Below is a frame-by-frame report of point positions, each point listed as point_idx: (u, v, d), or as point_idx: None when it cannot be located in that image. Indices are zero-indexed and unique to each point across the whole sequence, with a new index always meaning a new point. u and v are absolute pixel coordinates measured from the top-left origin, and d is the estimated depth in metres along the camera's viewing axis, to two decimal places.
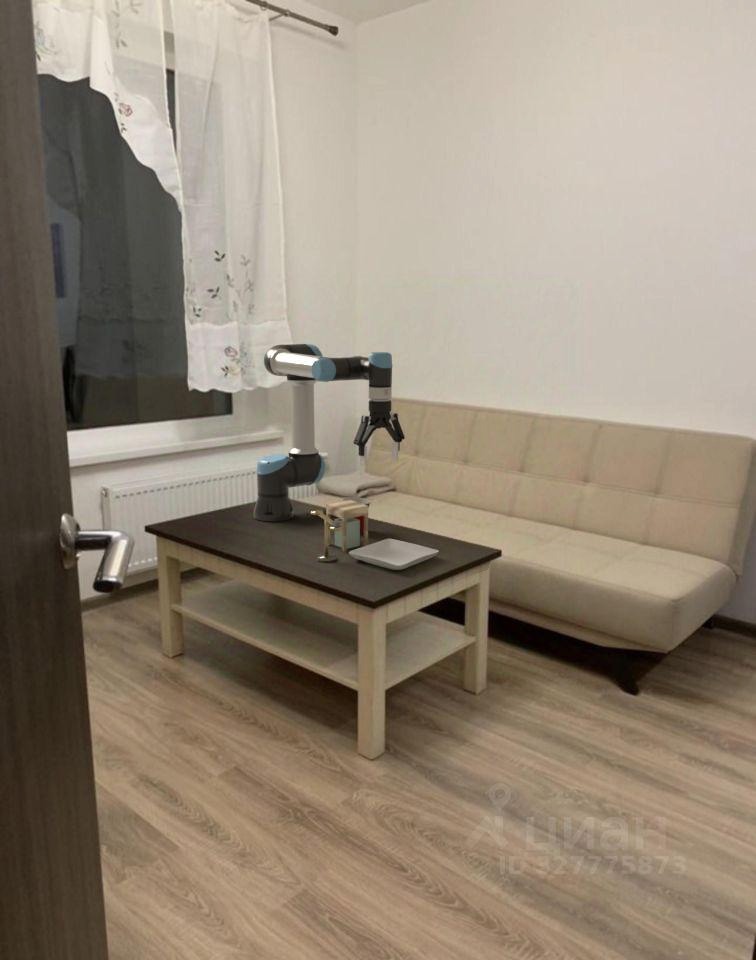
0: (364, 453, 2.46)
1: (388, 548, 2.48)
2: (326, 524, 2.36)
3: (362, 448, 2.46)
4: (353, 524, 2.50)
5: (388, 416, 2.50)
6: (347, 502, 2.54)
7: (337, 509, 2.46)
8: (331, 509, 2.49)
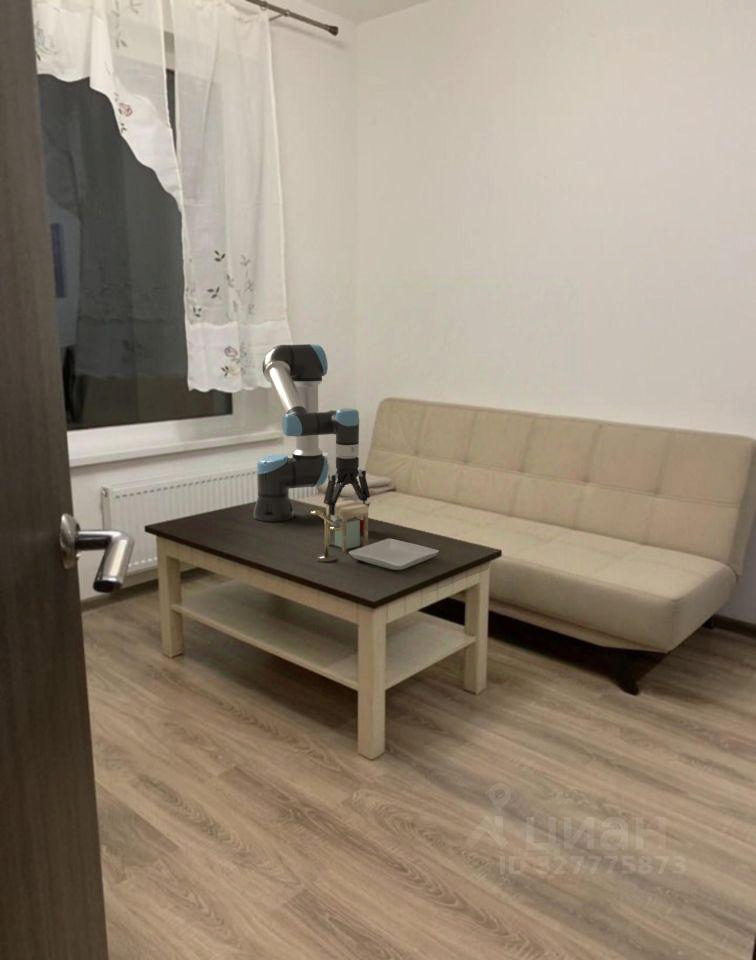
0: (334, 512, 2.46)
1: (388, 548, 2.48)
2: (326, 524, 2.36)
3: (332, 507, 2.46)
4: (353, 524, 2.50)
5: (356, 472, 2.49)
6: (347, 502, 2.54)
7: (337, 509, 2.46)
8: None
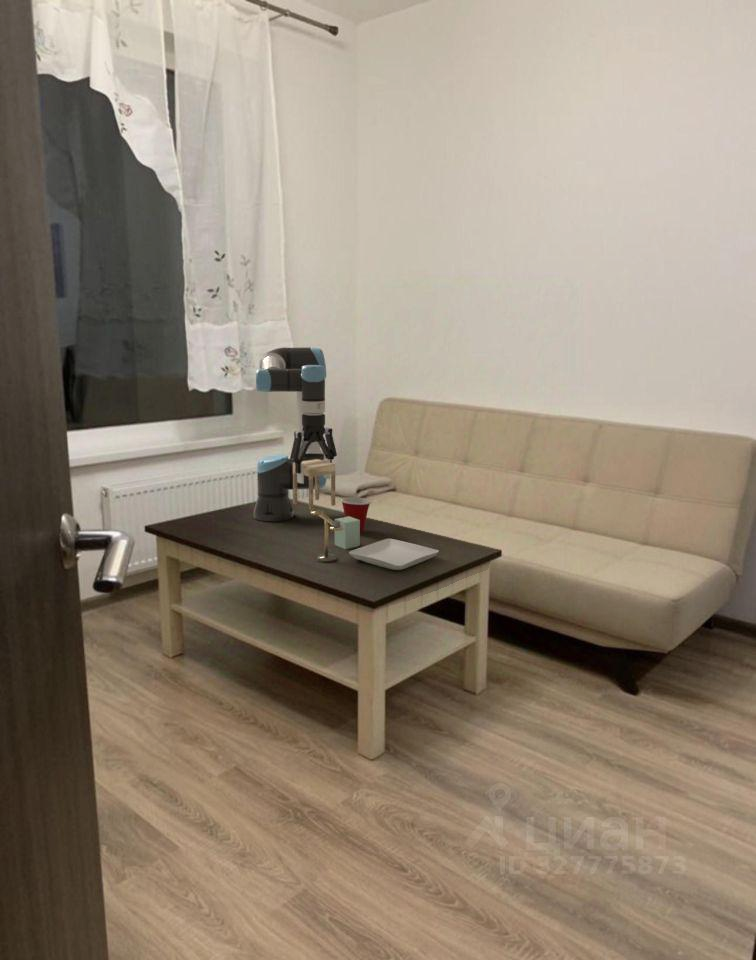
0: (301, 470, 2.43)
1: (388, 548, 2.48)
2: (326, 524, 2.36)
3: (299, 465, 2.43)
4: (353, 524, 2.50)
5: (322, 430, 2.46)
6: (314, 461, 2.50)
7: (304, 467, 2.43)
8: None
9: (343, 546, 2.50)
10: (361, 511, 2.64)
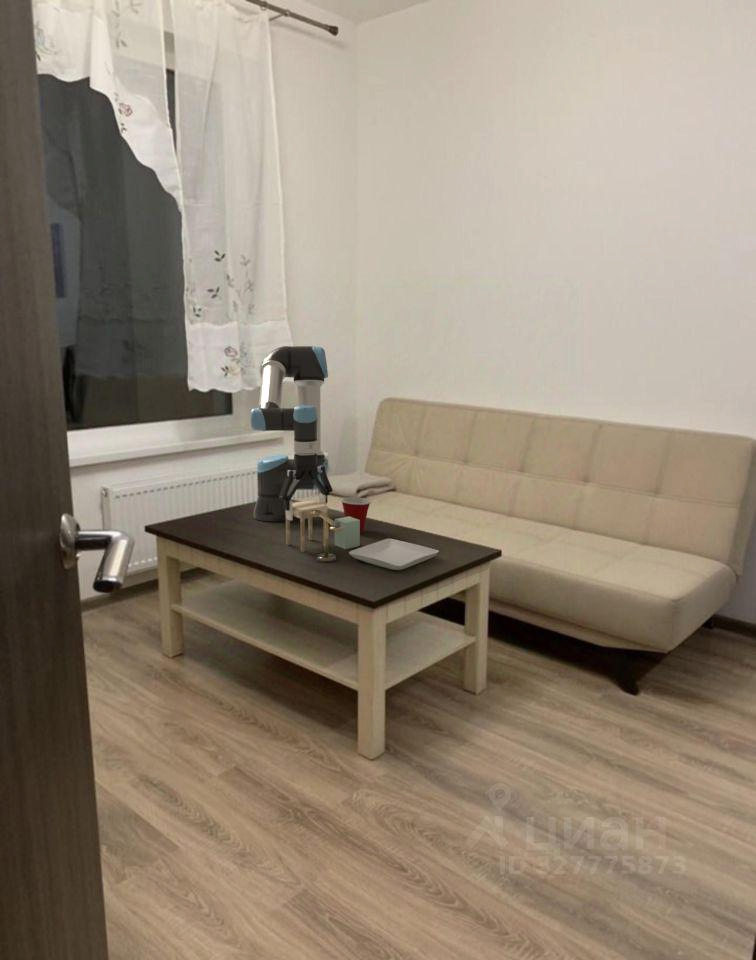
0: (289, 507, 2.45)
1: (388, 548, 2.48)
2: (326, 524, 2.36)
3: (287, 503, 2.44)
4: (353, 524, 2.50)
5: (314, 469, 2.48)
6: (307, 502, 2.53)
7: (295, 509, 2.46)
8: None
9: (343, 546, 2.50)
10: (361, 511, 2.64)
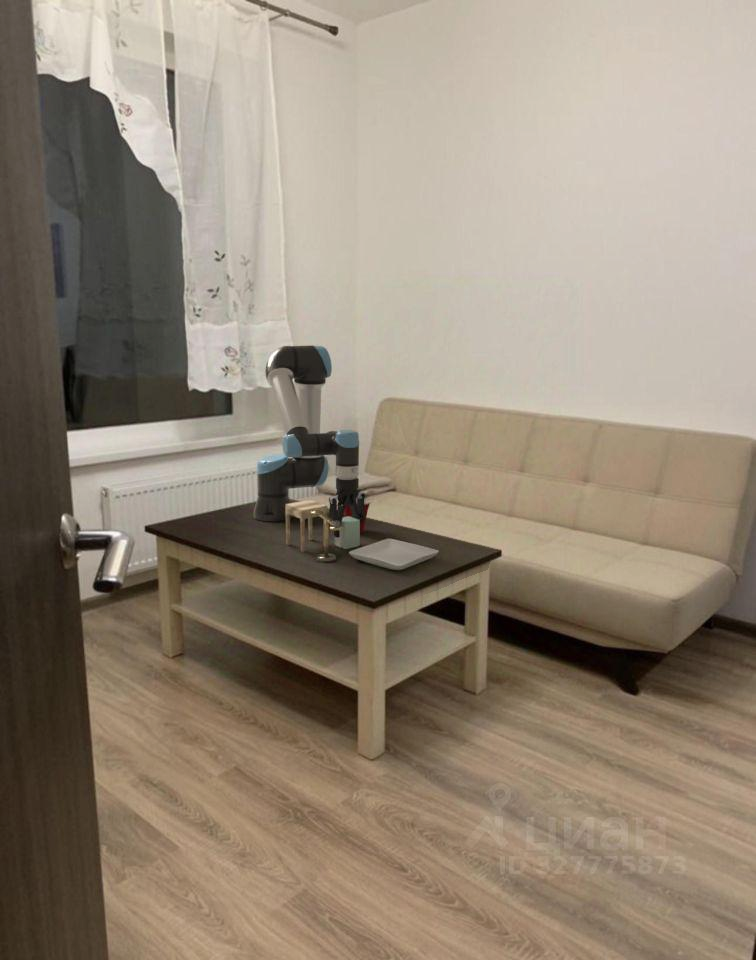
0: (339, 535, 2.49)
1: (388, 548, 2.48)
2: (326, 524, 2.36)
3: None
4: (353, 524, 2.50)
5: (356, 493, 2.51)
6: (307, 502, 2.53)
7: (295, 509, 2.46)
8: (289, 509, 2.49)
9: (343, 546, 2.50)
10: None
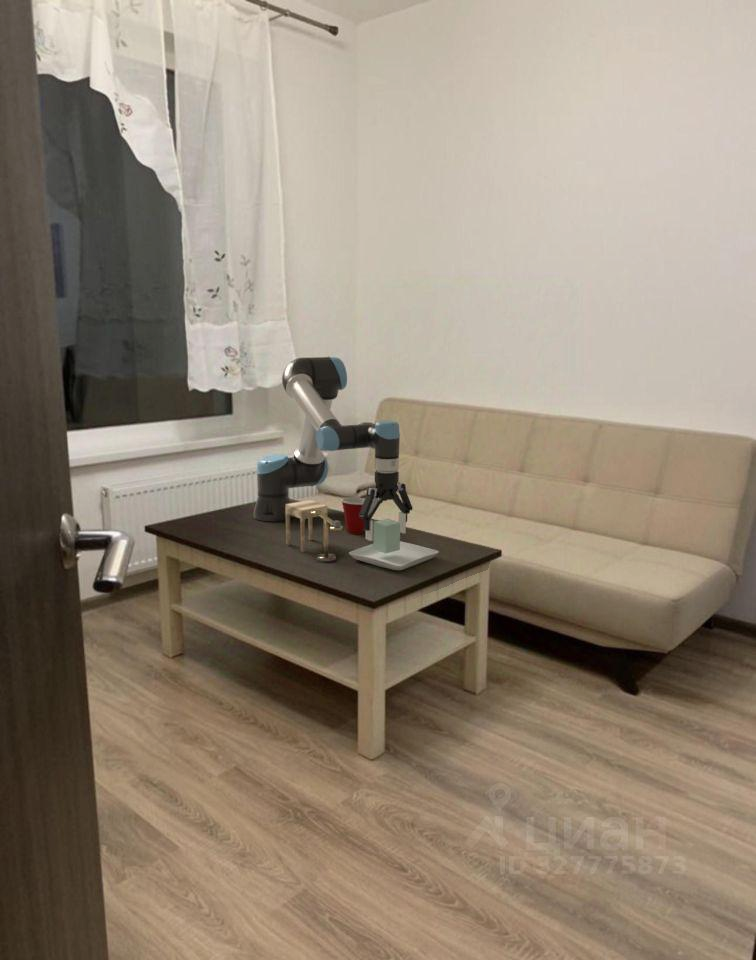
0: (370, 527, 2.33)
1: None
2: (326, 524, 2.36)
3: (368, 522, 2.33)
4: (393, 527, 2.36)
5: (395, 487, 2.37)
6: (307, 502, 2.53)
7: (295, 509, 2.46)
8: (289, 509, 2.49)
9: (383, 550, 2.37)
10: None
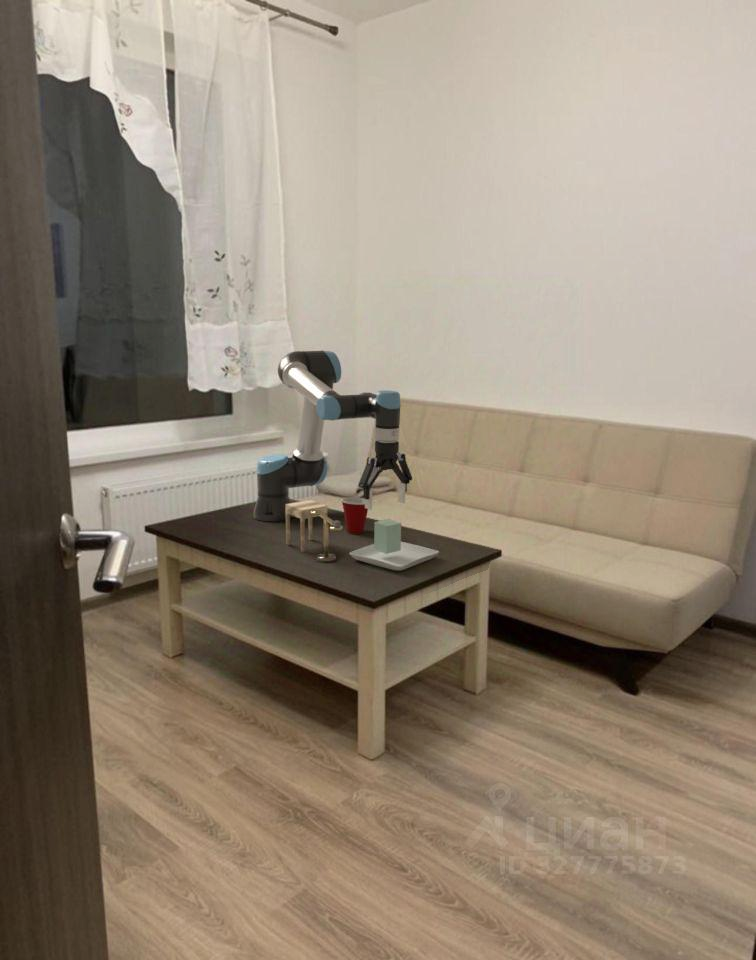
0: (369, 496, 2.35)
1: None
2: (326, 524, 2.36)
3: (367, 491, 2.35)
4: (394, 527, 2.36)
5: (395, 457, 2.39)
6: (307, 502, 2.53)
7: (295, 509, 2.46)
8: (289, 509, 2.49)
9: (384, 551, 2.36)
10: (361, 511, 2.64)
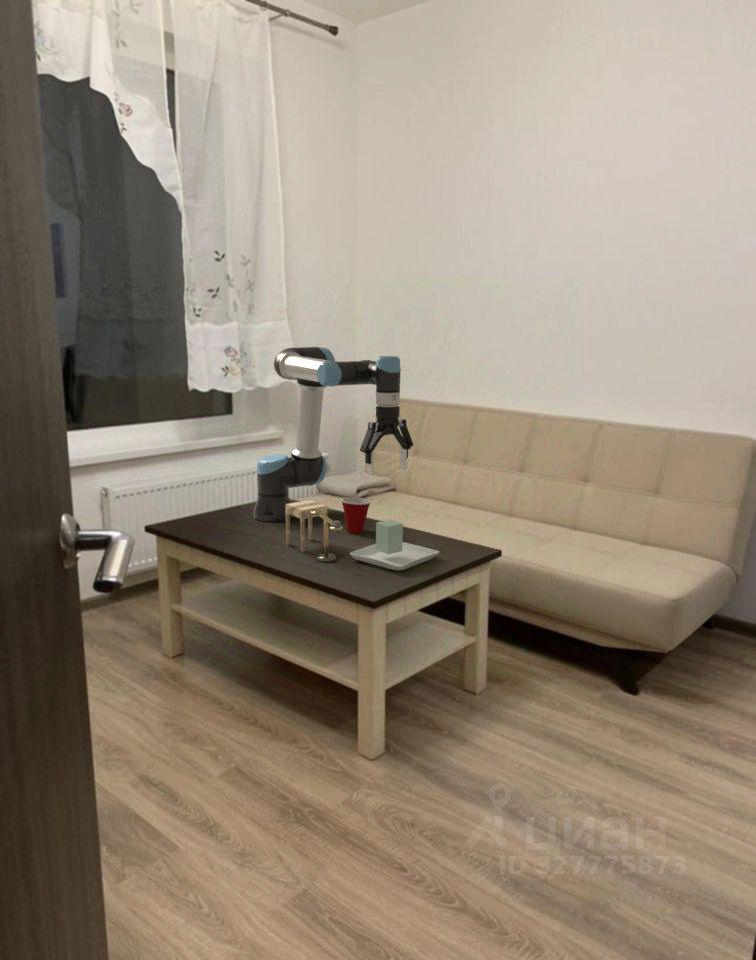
0: (371, 461, 2.37)
1: None
2: (326, 524, 2.36)
3: (369, 456, 2.36)
4: (396, 528, 2.36)
5: (396, 422, 2.40)
6: (307, 502, 2.53)
7: (295, 509, 2.46)
8: (289, 509, 2.49)
9: (385, 551, 2.36)
10: (361, 511, 2.64)
